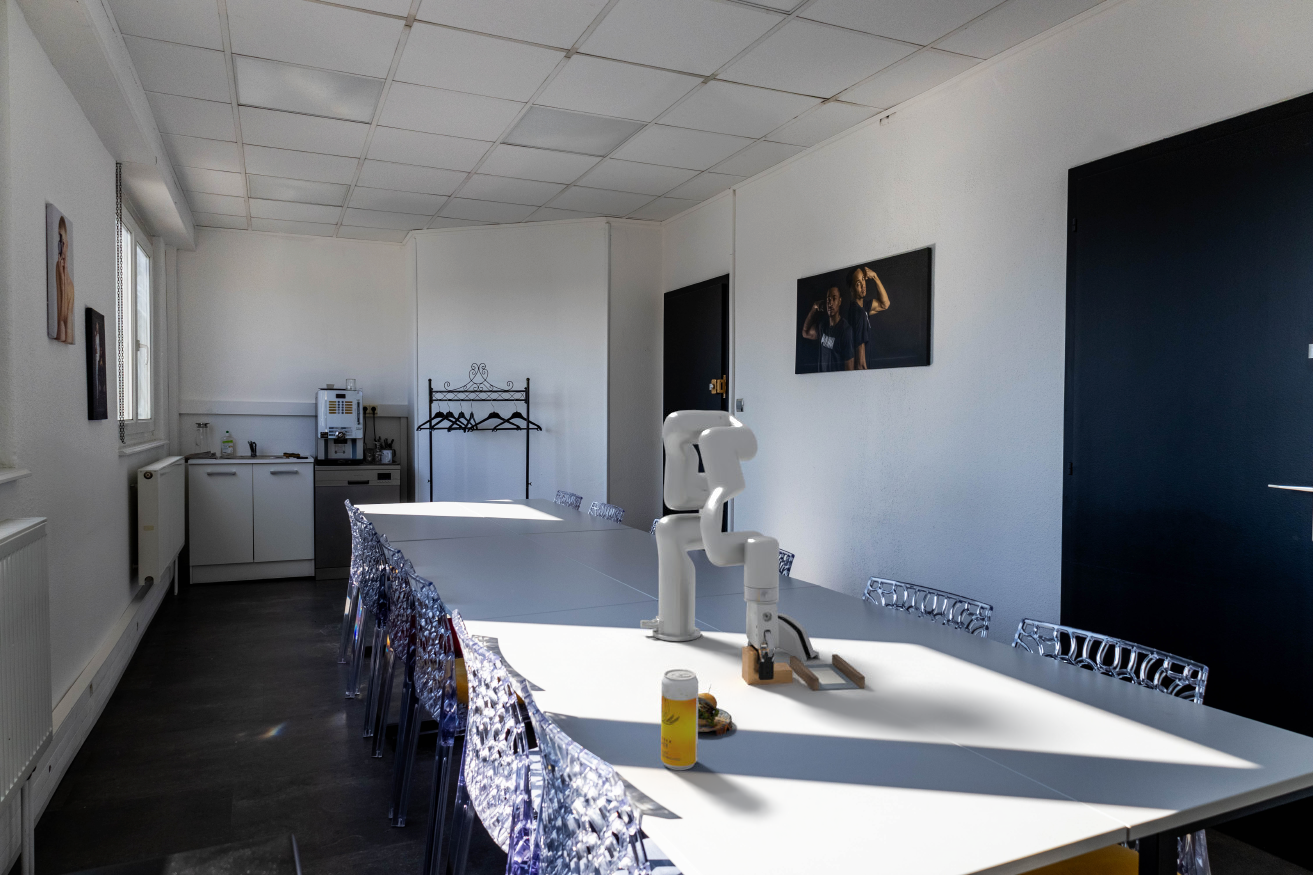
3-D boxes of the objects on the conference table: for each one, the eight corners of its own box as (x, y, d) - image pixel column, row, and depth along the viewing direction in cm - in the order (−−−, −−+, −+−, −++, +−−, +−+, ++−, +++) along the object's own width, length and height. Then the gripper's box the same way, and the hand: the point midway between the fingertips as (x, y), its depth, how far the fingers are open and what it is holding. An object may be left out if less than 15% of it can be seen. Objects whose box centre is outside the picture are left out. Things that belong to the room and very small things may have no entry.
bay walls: (813, 690, 170) (813, 678, 170) (789, 666, 186) (789, 655, 186) (864, 688, 172) (864, 676, 172) (836, 664, 188) (837, 654, 188)
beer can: (659, 755, 137) (660, 668, 137) (694, 754, 138) (695, 667, 137) (662, 771, 131) (663, 680, 131) (699, 770, 132) (700, 679, 131)
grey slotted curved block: (821, 659, 192) (809, 621, 191) (805, 667, 190) (793, 629, 189) (785, 640, 208) (774, 604, 206) (770, 648, 206) (758, 612, 205)
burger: (659, 718, 155) (659, 680, 154) (714, 710, 159) (714, 673, 159) (686, 742, 144) (686, 701, 143) (744, 732, 148) (744, 692, 148)
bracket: (748, 685, 174) (748, 653, 174) (741, 677, 179) (742, 646, 178) (792, 683, 175) (793, 651, 175) (785, 675, 180) (785, 644, 180)
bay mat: (819, 690, 171) (819, 688, 171) (794, 666, 186) (795, 664, 186) (858, 688, 172) (858, 686, 172) (831, 664, 188) (831, 663, 188)
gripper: (790, 602, 168) (789, 685, 169) (766, 584, 185) (765, 659, 186) (755, 603, 167) (754, 686, 168) (734, 585, 184) (733, 661, 185)
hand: (760, 672), depth 177 cm, fingers open, 8 cm apart
